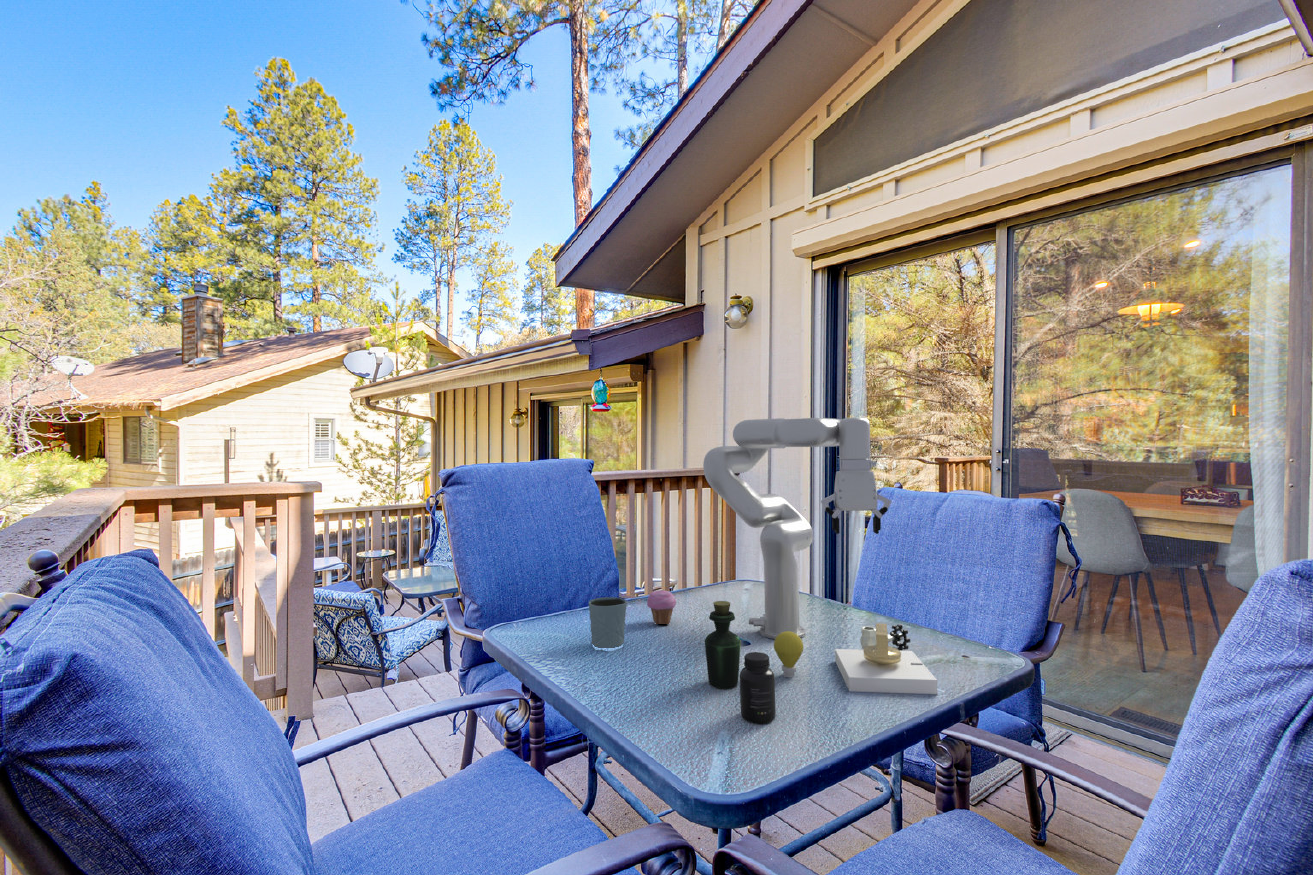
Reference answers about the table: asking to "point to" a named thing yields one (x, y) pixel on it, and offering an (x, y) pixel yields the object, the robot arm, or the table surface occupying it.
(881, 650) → the knob
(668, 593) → the cupcake
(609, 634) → the grey cup
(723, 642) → the potion bottle
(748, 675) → the supplement bottle
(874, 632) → the valve
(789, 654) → the light bulb
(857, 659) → the base plate
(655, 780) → the table surface
